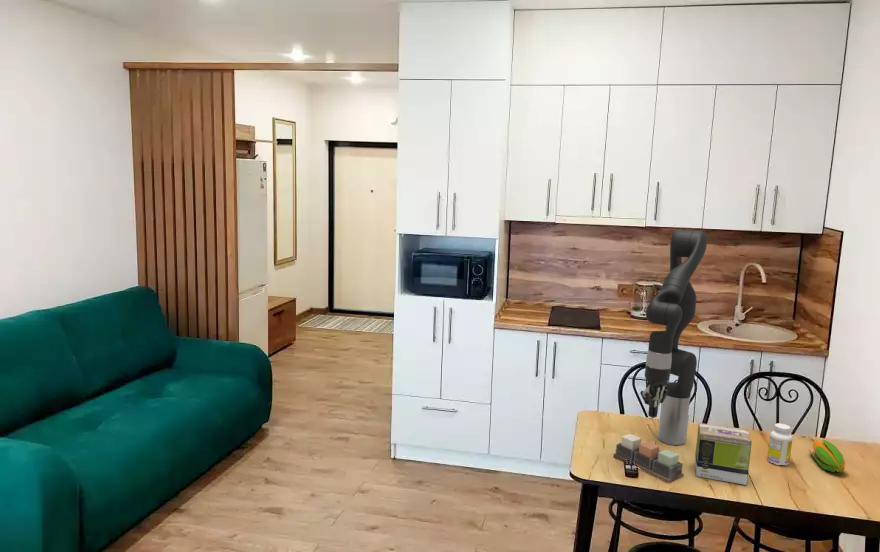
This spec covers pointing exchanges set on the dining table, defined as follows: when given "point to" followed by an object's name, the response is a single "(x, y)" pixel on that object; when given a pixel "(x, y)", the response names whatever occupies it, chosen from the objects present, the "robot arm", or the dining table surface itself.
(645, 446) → the button terracotta
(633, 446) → the button ivory
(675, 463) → the button sage
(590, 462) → the dining table surface
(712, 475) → the tea box
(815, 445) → the corn
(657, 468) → the grey button tray
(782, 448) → the supplement bottle
